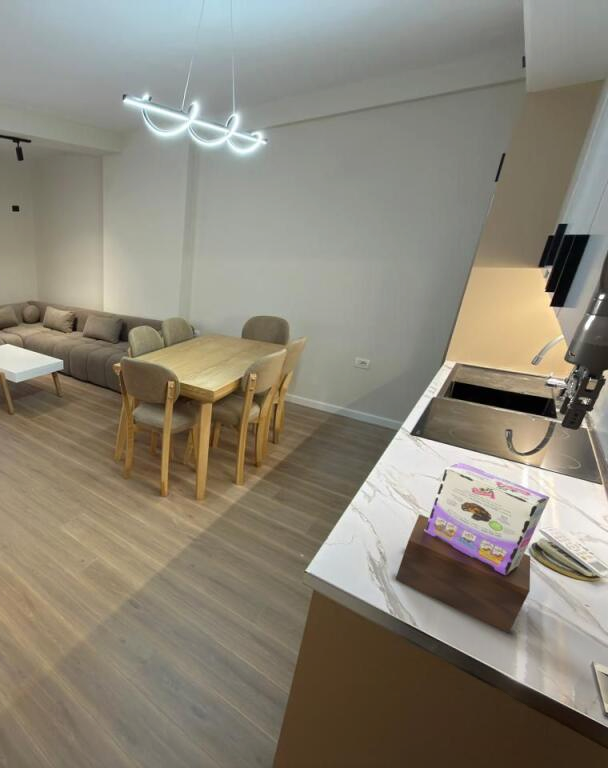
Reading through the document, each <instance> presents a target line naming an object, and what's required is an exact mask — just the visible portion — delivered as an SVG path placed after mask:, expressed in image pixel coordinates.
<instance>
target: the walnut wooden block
mask: <svg viewBox="0 0 608 768" xmlns="http://www.w3.org/2000/svg"><path fill="white" fill-rule="evenodd" d="M428 520H429V517H428V516H425V515H423V514H420V513H419V514H418V516H417V519H416V521H415V524H414V526H413V528H412V530H411V534H410V536H409V538H408V540H407V544H406V546H405V549H404V552H403V556H402V558H401V562H400V564H399V567H398V570H397V573H396V577H395V580H396V581H397V582H400V583H401V584H404V585H406V586H407V587H410V588H412V589H414V590H416V591H418V592H420V593H422V594H425V595H427V596H428V597H430V598H433V599H434V600H437V601H439V602H440V603H442V604H445V605H447V606H449V607H451V608H453V609H455V610H457V611H459V612H461V613H464V614H466V615H468V616H470V617H472V618H474V619H476V620H478V621H480V622H482V623H484V624H486V625H488V626H490V627H492V628H494V629H496V630H498V631H500V632H503V633H505V634H507V635H509V633H510V631H511V630H512V627H513V625H514V624H515V621H516V619H517V617H518V615H519V614H520V611H521V609H522V608H523V606H524V604H525V601H526V600H527V597H528V596H529V593H530V592H531V591H530V590H531V555H528V554H526V553H524V555H523V557H522V559H521V562H520V563H519V565H518V567H517V568H515V569H514V570H512V571H511V572H509V573H508V574H506V575H504V574H502V573H500V572H498V571H496V570H494V569H492V568H491V567H489V566H487V565H485V564H483V563H481V562H479V561H478V560H476V559H474V558H472V557H470V556H469V555H467V554H465V553H463V552H461V551H459V550H458V549H456V548H454V547H452V546H450V545H448V544H446V543H445V542H443V541H441V540H439V539H437V538H435V537H434V536H432V535H430V534H428V533H426V532H425V531H424V530H425V528H426V526H427V523H428Z"/></svg>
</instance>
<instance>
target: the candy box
mask: <svg viewBox="0 0 608 768" xmlns="http://www.w3.org/2000/svg"><path fill="white" fill-rule="evenodd" d="M440 482H441V483H440V484H439V488H438V490H437V494H436V496H435V499H434V502H433V505H432V509H431V511H430V515H429V517H428V518H429V520H428V523H427V526H426V528H425V530H424V531H425V532H426V533H428V534H430V535H432V536H434V537H435V538H437V539H439V540H441V541H443V542H445V543H446V544H448V545H450V546H452V547H454V548H456V549H458V550H459V551H461V552H463V553H465V554H467V555H469V556H470V557H472V558H474V559H476V560H478V561H479V562H481V563H483V564H485V565H487V566H489V567H491V568H492V569H494V570H496V571H498V572H500V573H502V574H504V575H506V574H508V573H509V572H511V571H512V570H514V569H515V568H517V567H518V565H519V563H520V562H521V559H522V557H523V555H524V554H525V553H526V551H527V548H528V547H529V544H530V541H531V540H532V537H533V535H534V533H535V530H536V528H537V527H538V524H539V522H540V520H541V517H542V515H543V513H544V511H545V509H546V506H547V504H548V502H549V500H550V496H549V495H547V494H543V493H540V492H537V491H536V490H533V489H530V488H527V487H525V486H523V485H519V484H517V483H515V482H512V481H509V480H507V479H504V478H501V477H499V476H497V475H495V474H491V473H489V472H486V471H483V470H481V469H479V468H475V467H473V466H471V465H468V464H466V463H463V462H461V461H459V462H458V463H455V464H453V465H451V466H448V467H445V469H444V472H443V475H442V478H441V481H440Z"/></svg>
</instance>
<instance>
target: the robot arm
mask: <svg viewBox="0 0 608 768" xmlns="http://www.w3.org/2000/svg"><path fill="white" fill-rule="evenodd" d="M569 351H570V352H571V353H572V354H573V355H575V356H570V355H569ZM563 359H564V361H565V362H566V363H568V364H571V365H573V366H575V369H574V370H572V371H571V373H570V375H569V377H568V381H567V382H566V386H565V388H566V389H565V393H564V394H565V397H564V399H563V401H562V404H561V406H560V408H559V414H560V415H564V416H563V418H562V420H561V423H560V425H561V427H562V428H565V429H568V430H569V429H570V430H573V431H576V430H579V429H580V428H581V426H582V424H583V421H584V419H585V417H586V415H587V413H591V412H592V411H593V410H594V407H595V404H596V402H597V400H598V399H599V396H600V394H601V391H602V389H603V388H604V386H605V385H606V382H607V378H605V377H606V376H605V375H604V372H605V371H608V250H607V251H606V254H605V256H604V260H603V263H602V267H601V271H600V275H599V280H598V284H597V287H596V289H595V291H594V292H593V294H592V296H591V299H590V301H589V304H588V305H587V308H586V310H585V313H584V314H583V317H582V318H581V320H580V321H579V323H578V325H577V326H576V329H575V331H574V334H573V336H572V338H571V340H570V343H569V345H568V347H567V350H566V352H565V355H564V357H563ZM583 401H586V403H583Z"/></svg>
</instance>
